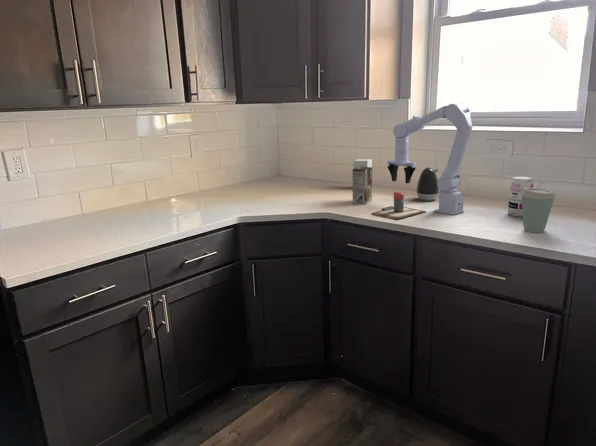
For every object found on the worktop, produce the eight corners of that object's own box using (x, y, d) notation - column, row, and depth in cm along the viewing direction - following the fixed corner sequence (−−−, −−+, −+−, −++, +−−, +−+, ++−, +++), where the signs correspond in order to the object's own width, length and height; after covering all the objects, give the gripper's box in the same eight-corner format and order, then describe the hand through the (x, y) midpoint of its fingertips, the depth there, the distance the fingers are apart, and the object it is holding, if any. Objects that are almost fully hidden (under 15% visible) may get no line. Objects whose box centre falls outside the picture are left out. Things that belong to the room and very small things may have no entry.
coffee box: (359, 199, 225) (360, 166, 221) (372, 200, 222) (372, 166, 218) (351, 203, 218) (351, 169, 213) (364, 204, 214) (365, 169, 210)
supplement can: (531, 213, 190) (534, 176, 187) (528, 218, 184) (532, 180, 180) (509, 211, 194) (512, 175, 191) (506, 216, 188) (509, 178, 184)
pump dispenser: (443, 200, 218) (445, 167, 214) (424, 202, 214) (426, 169, 210) (429, 196, 227) (431, 165, 223) (411, 198, 223) (412, 167, 220)
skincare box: (372, 188, 252) (372, 159, 248) (367, 190, 247) (367, 160, 243) (358, 187, 256) (358, 158, 252) (353, 189, 251) (353, 160, 247)
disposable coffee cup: (541, 226, 172) (545, 185, 168) (557, 234, 162) (562, 191, 158) (512, 227, 172) (516, 186, 168) (527, 235, 162) (531, 192, 158)
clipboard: (425, 212, 197) (426, 208, 196) (397, 220, 186) (397, 216, 186) (399, 207, 208) (399, 203, 207) (371, 214, 197) (371, 210, 196)
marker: (404, 210, 198) (404, 191, 196) (402, 212, 194) (402, 193, 192) (394, 210, 199) (394, 191, 197) (392, 212, 196) (392, 193, 194)
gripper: (421, 151, 203) (419, 182, 206) (395, 149, 214) (394, 179, 217) (410, 153, 199) (409, 184, 202) (384, 151, 210) (384, 181, 213)
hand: (400, 182), depth 209 cm, fingers open, 7 cm apart
